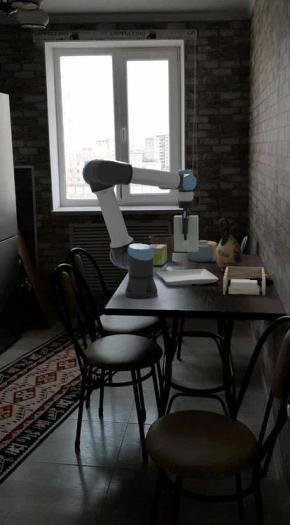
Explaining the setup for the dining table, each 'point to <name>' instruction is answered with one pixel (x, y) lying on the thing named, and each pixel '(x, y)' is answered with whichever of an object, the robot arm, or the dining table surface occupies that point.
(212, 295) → the dining table surface
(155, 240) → the plant pot
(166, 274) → the square plate
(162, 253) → the tea box
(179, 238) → the tall panel
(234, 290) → the lower offcut
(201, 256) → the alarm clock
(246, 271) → the frame
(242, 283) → the upper offcut
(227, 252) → the ceramic jug
